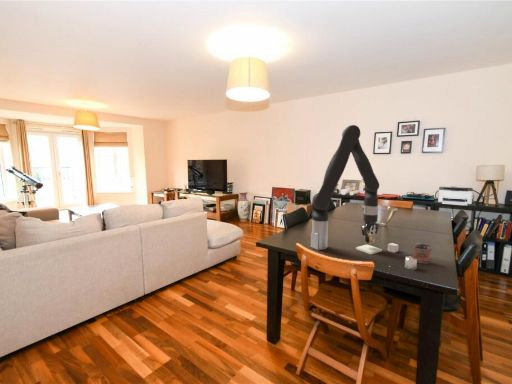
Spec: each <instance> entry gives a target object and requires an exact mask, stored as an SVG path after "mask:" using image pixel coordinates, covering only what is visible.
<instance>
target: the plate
mask: <svg viewBox="0 0 512 384" xmlns="http://www.w3.org/2000/svg"><path fill="white" fill-rule="evenodd" d="M355 250H357V251H360V252H363V253H366V254H368V255H374V254H377V253H380V252H382V251H383V249H382V248H379V247H376V246H373V245H371V244H367V243H365V244H363V245H360V246H356V247H355Z"/></svg>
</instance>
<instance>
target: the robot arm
mask: <svg viewBox="0 0 512 384" xmlns="http://www.w3.org/2000/svg"><path fill="white" fill-rule="evenodd" d="M341 136H342V138H341V139H340V142H339V146H338V147H337V148H336V149H337V150H336V151H335V152H334V154H333V155H332V157H331V159H330V161H329V163H328V164H327V168H326V170H325V174H324V176H323V180H322V181H323V182H322V185H321V187H320V189H319V191H318V193H316V194H314V195H313V197H312V202H311V215H312V218H311V219H312V221H311V222H312V223H311V224H312V225H311V226H312V227H311V232H310V248H312V249H315V250H317V251H319V250H327V248H328V236H329V235H328V233H329V232H328V231H329V230H328V229H329V212H328V210H329V209H328V207H329V206H330V204H331V203H330V202H331V200H332V197H333V194H334V192H335V189H336V187H337V185H338V183H339V181H340V180H341V178H342V176H343V174H344V170H345V169H346V167H347V163H348V161H349V158H350V156H351V154H352V157H353V160H354V162H355V165H356V168H357V170H358V172H359V175H360V176H361V177H362V180H363V183H364V207H363V222H364V225H363V226H360V229H361V233H362V236H364V239H365V242H366V243H365V244H367V243H369V235H370V234H373V235H375V236H376V234H377V233H378V232H379V226H380V223H378V218H379V198H378V190H379V188H380V183H379V180H378V178H377V176H376V174H375V173H374V169H373V167H372V164H371V162H370V160H369V158H368V157H367V154H366V153H365V152H364V151H365V150H364V149H363V148H362V144H361V143H360V140H359V138H360V136H361V129H360V128H359V126H358V125H356V124H352V125H351V124H350V125H348V126H346V127H345V128H344V129H343V131H342V133H341Z"/></svg>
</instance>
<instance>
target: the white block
mask: <svg viewBox="0 0 512 384" xmlns="http://www.w3.org/2000/svg"><path fill="white" fill-rule="evenodd" d="M387 251H388V252H391V253H396V252H397V253H398V252H399V244H398V243H394V242H390V243H388V244H387Z"/></svg>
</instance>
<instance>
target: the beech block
mask: <svg viewBox="0 0 512 384" xmlns="http://www.w3.org/2000/svg"><path fill="white" fill-rule="evenodd" d="M363 239H364V241H363V242H364V244H367V245H373V244H376V242H375V241H376V234H375V235H373V234H370V235H369V243H366V242H365V238H363Z"/></svg>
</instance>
